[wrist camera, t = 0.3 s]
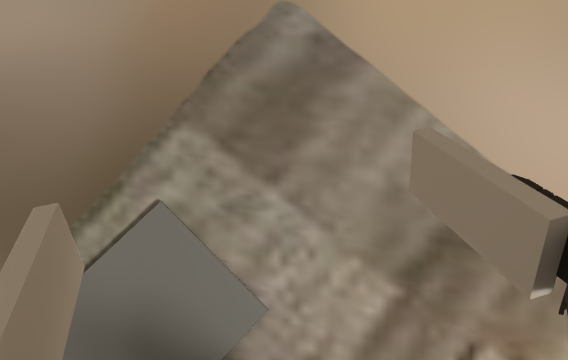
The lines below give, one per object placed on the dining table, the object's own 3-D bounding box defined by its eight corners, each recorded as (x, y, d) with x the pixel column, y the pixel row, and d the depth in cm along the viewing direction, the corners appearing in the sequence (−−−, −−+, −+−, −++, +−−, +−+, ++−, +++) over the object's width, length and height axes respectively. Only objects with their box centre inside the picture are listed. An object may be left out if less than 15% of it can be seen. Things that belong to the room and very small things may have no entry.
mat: (268, 309, 49) (268, 310, 49) (140, 443, 46) (139, 445, 46) (161, 201, 49) (160, 201, 48) (25, 328, 46) (22, 329, 45)
